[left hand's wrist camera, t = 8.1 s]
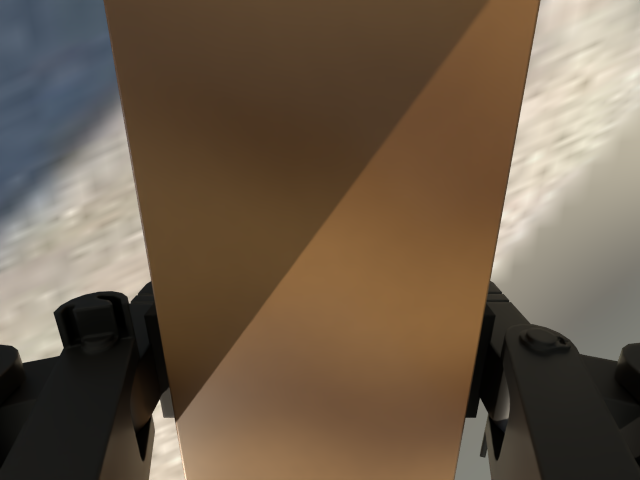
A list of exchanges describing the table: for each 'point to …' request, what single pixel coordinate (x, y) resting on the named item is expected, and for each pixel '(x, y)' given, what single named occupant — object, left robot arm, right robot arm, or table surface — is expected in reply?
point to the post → (320, 220)
